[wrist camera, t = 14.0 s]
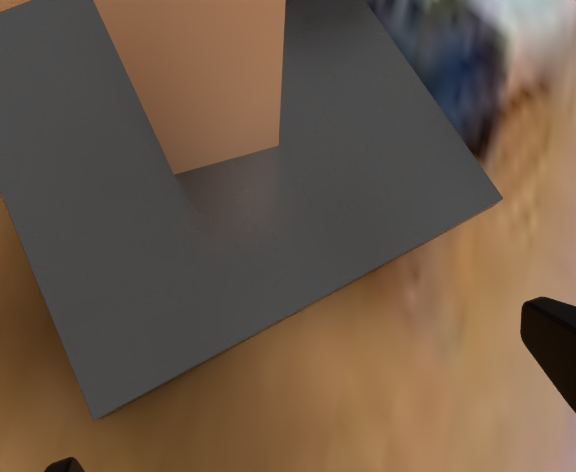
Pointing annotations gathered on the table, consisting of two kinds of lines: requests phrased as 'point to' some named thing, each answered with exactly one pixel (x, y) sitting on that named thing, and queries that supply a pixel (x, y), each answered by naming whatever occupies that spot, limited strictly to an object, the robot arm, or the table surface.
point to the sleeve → (203, 73)
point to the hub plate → (214, 191)
